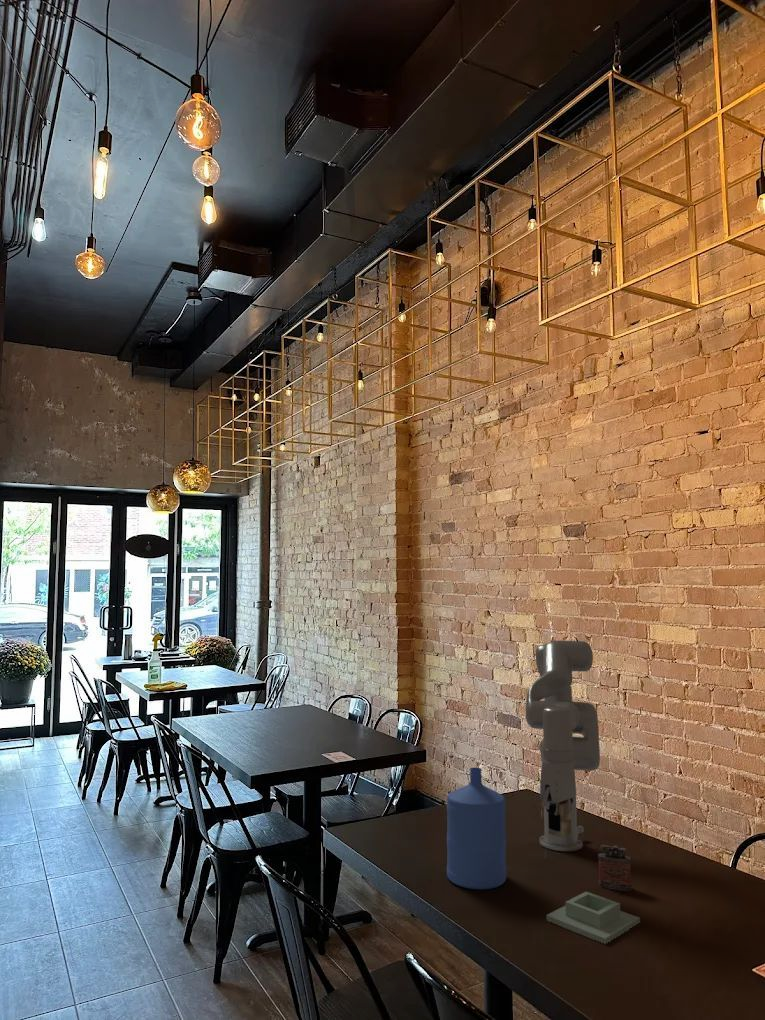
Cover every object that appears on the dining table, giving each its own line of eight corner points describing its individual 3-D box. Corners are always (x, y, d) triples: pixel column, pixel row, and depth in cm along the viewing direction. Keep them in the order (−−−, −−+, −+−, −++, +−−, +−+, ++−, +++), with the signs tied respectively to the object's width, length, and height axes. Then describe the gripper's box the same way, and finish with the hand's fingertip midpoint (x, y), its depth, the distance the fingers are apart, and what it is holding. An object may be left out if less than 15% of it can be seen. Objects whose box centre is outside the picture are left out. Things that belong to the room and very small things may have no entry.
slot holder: (582, 902, 174) (582, 884, 174) (640, 923, 163) (639, 903, 163) (546, 920, 164) (546, 901, 164) (605, 944, 153) (604, 923, 153)
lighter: (631, 886, 183) (630, 845, 185) (631, 891, 180) (630, 850, 181) (599, 882, 186) (598, 842, 187) (598, 887, 183) (597, 846, 184)
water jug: (505, 893, 179) (504, 778, 182) (443, 887, 182) (443, 774, 185) (507, 870, 194) (506, 763, 197) (450, 865, 197) (449, 760, 200)
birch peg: (557, 830, 187) (557, 798, 188) (571, 834, 184) (570, 802, 185) (549, 833, 184) (548, 801, 185) (562, 837, 181) (561, 805, 182)
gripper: (564, 747, 195) (565, 817, 193) (527, 757, 184) (528, 831, 182) (588, 752, 189) (590, 824, 187) (551, 763, 178) (553, 839, 176)
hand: (559, 827), depth 184 cm, fingers closed on birch peg, 3 cm apart
